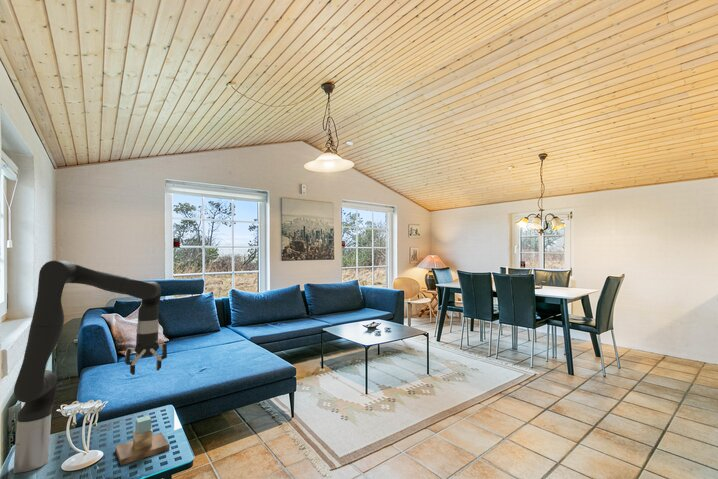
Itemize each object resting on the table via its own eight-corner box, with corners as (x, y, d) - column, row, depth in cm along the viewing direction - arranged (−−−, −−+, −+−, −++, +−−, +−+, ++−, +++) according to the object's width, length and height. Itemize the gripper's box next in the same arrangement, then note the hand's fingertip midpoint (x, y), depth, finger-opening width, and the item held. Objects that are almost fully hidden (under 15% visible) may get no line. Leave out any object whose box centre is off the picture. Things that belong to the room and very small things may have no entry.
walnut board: (120, 465, 125) (121, 459, 125) (115, 451, 135) (115, 445, 135) (169, 449, 136) (169, 444, 136) (161, 437, 146) (161, 432, 146)
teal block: (137, 434, 133) (138, 422, 133) (135, 430, 136) (135, 418, 136) (150, 430, 136) (151, 419, 136) (148, 426, 139) (148, 415, 139)
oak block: (135, 450, 132) (136, 435, 132) (133, 444, 136) (133, 430, 136) (152, 445, 135) (152, 430, 136) (148, 439, 139) (149, 425, 140)
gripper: (128, 335, 131) (126, 378, 130) (169, 330, 141) (168, 370, 139) (124, 332, 136) (122, 373, 135) (164, 327, 146) (163, 366, 145)
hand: (145, 372), depth 137 cm, fingers open, 8 cm apart
